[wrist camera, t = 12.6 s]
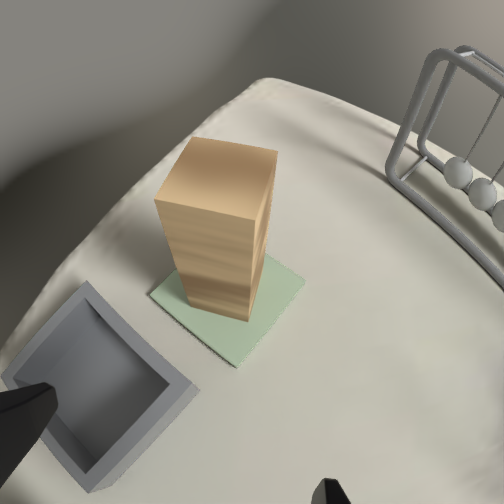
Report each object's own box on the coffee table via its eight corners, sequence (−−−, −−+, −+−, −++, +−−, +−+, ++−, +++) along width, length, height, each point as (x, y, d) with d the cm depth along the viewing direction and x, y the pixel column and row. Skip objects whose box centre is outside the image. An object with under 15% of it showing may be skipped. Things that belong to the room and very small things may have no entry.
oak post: (248, 322, 23) (255, 220, 13) (190, 306, 24) (154, 198, 13) (262, 271, 26) (277, 151, 15) (209, 257, 26) (192, 136, 16)
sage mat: (236, 368, 22) (236, 367, 22) (151, 297, 25) (149, 294, 24) (304, 283, 26) (306, 280, 25) (222, 227, 29) (221, 223, 28)
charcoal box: (110, 486, 16) (88, 493, 13) (27, 385, 20) (0, 375, 16) (200, 390, 21) (192, 382, 18) (105, 301, 24) (86, 280, 21)
